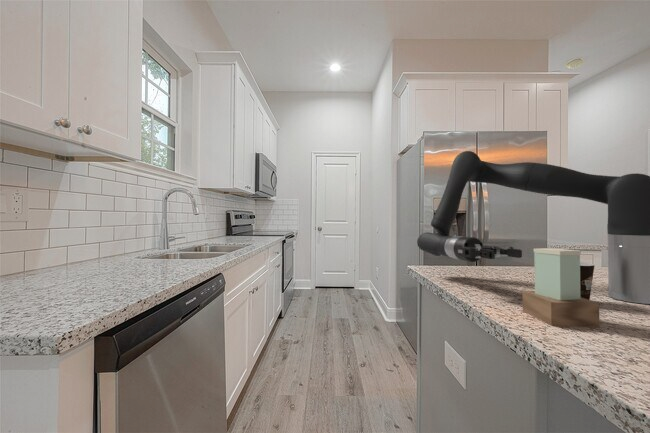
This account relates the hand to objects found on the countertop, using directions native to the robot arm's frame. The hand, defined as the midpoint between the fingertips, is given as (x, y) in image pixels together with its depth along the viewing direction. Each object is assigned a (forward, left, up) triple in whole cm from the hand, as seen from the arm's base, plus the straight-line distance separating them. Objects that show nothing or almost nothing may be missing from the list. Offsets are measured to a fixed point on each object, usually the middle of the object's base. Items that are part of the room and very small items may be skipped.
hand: (507, 254), depth 71 cm
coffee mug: (-15, +3, -13) cm, 20 cm away
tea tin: (0, +12, -8) cm, 14 cm away
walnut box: (0, +12, -13) cm, 18 cm away
